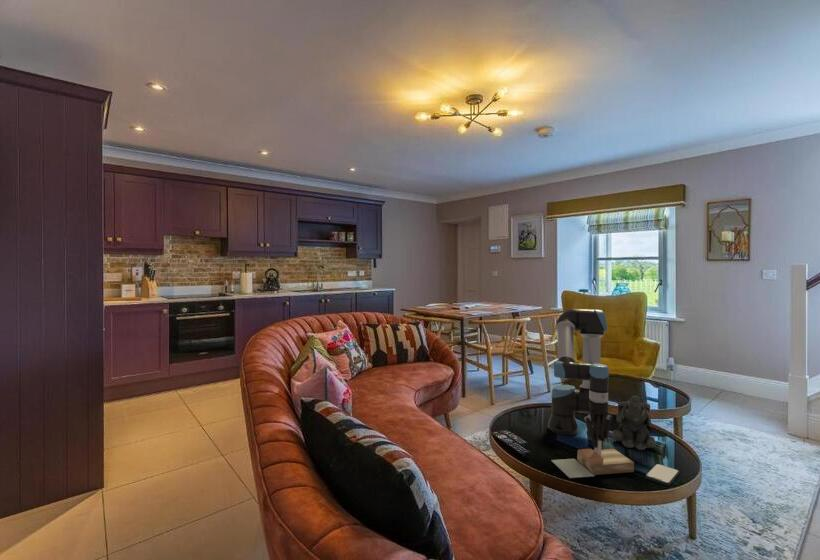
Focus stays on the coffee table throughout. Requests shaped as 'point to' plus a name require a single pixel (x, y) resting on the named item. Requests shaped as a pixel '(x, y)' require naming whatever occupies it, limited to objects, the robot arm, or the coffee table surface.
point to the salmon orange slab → (590, 456)
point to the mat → (572, 468)
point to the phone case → (662, 474)
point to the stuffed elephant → (634, 424)
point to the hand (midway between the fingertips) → (597, 454)
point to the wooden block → (609, 463)
